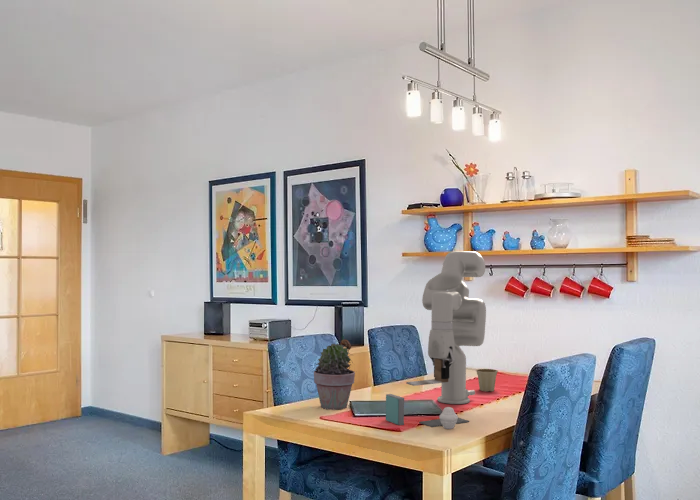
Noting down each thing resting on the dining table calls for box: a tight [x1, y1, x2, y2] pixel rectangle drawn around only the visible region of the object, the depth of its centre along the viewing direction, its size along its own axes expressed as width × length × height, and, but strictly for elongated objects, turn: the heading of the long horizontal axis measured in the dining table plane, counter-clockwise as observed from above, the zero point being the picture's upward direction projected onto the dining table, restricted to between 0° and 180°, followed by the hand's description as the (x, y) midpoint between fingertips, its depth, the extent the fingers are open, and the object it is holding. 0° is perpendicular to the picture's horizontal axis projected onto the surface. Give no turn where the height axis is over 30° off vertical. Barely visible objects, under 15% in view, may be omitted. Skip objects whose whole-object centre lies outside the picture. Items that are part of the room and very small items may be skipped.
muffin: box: [438, 406, 459, 430], centre depth 228 cm, size 6×6×7 cm
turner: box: [405, 359, 448, 387], centre depth 243 cm, size 16×4×8 cm, turn 121°
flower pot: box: [475, 368, 499, 392], centre depth 297 cm, size 9×9×9 cm
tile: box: [385, 393, 405, 426], centre depth 235 cm, size 2×8×9 cm, turn 30°
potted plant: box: [313, 339, 356, 411], centre depth 259 cm, size 18×20×25 cm
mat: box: [418, 417, 470, 428], centre depth 236 cm, size 16×7×1 cm, turn 121°
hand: (441, 377), depth 246 cm, fingers closed on turner, 3 cm apart
